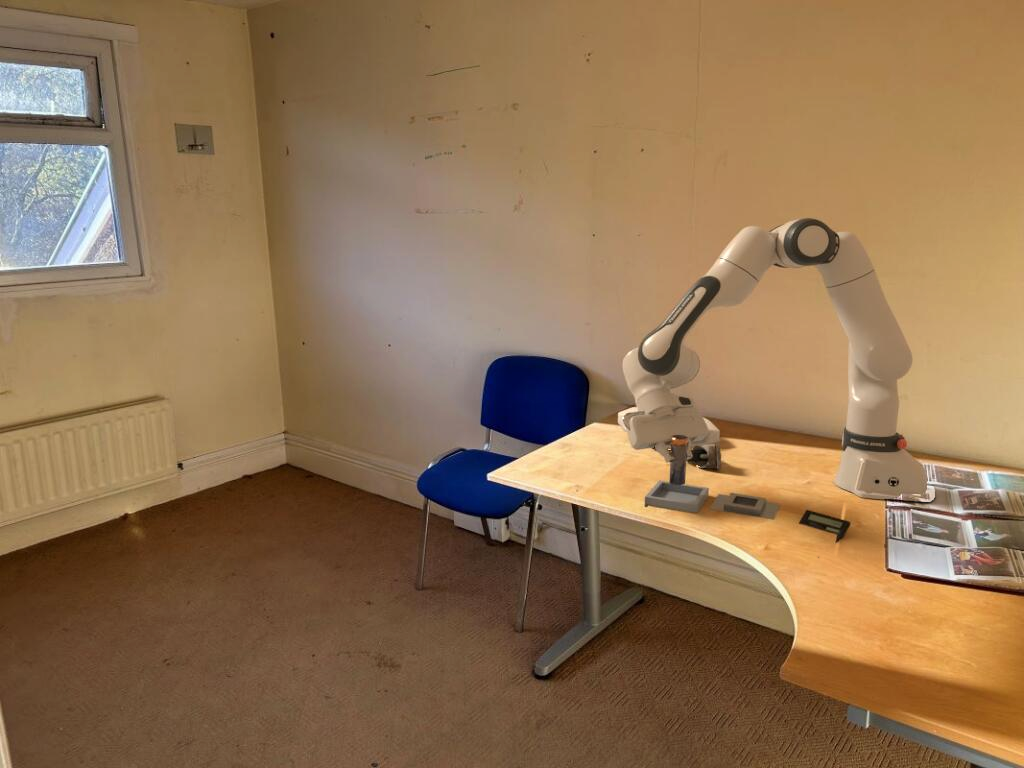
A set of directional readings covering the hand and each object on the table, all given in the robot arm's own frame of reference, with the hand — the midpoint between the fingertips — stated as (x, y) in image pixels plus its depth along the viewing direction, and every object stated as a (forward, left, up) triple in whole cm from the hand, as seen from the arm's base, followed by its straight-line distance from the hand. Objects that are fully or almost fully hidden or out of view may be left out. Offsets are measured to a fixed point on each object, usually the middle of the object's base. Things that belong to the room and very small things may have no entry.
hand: (679, 459), depth 171 cm
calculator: (-31, +5, -11) cm, 33 cm away
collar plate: (-15, -3, -11) cm, 18 cm away
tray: (0, 0, -11) cm, 11 cm away
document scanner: (+17, -52, -11) cm, 56 cm away
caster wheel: (+1, -30, -11) cm, 32 cm away
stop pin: (0, 0, -6) cm, 6 cm away
